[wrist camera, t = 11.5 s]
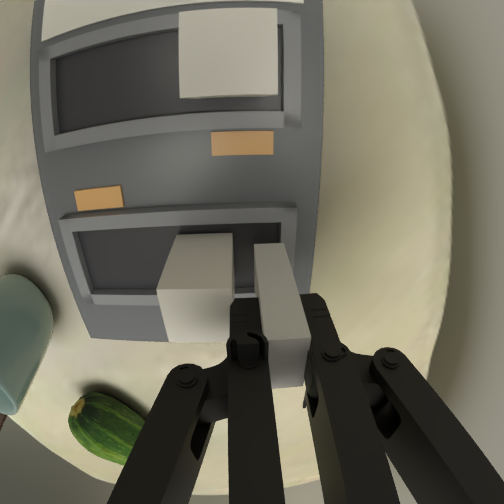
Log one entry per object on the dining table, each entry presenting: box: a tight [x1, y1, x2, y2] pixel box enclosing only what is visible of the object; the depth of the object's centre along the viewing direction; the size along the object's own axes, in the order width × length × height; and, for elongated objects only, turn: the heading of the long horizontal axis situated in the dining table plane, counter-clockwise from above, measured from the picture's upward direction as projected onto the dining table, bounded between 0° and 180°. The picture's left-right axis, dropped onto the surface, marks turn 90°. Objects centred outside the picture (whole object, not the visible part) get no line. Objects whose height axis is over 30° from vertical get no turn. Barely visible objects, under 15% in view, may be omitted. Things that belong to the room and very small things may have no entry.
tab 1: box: [179, 8, 278, 99], centre depth 10 cm, size 3×3×5 cm
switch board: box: [30, 0, 324, 342], centre depth 15 cm, size 24×16×3 cm, turn 0°
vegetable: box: [68, 392, 145, 465], centre depth 27 cm, size 7×7×20 cm
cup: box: [0, 274, 53, 415], centre depth 16 cm, size 8×8×10 cm
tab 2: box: [156, 233, 235, 343], centre depth 14 cm, size 3×3×5 cm
